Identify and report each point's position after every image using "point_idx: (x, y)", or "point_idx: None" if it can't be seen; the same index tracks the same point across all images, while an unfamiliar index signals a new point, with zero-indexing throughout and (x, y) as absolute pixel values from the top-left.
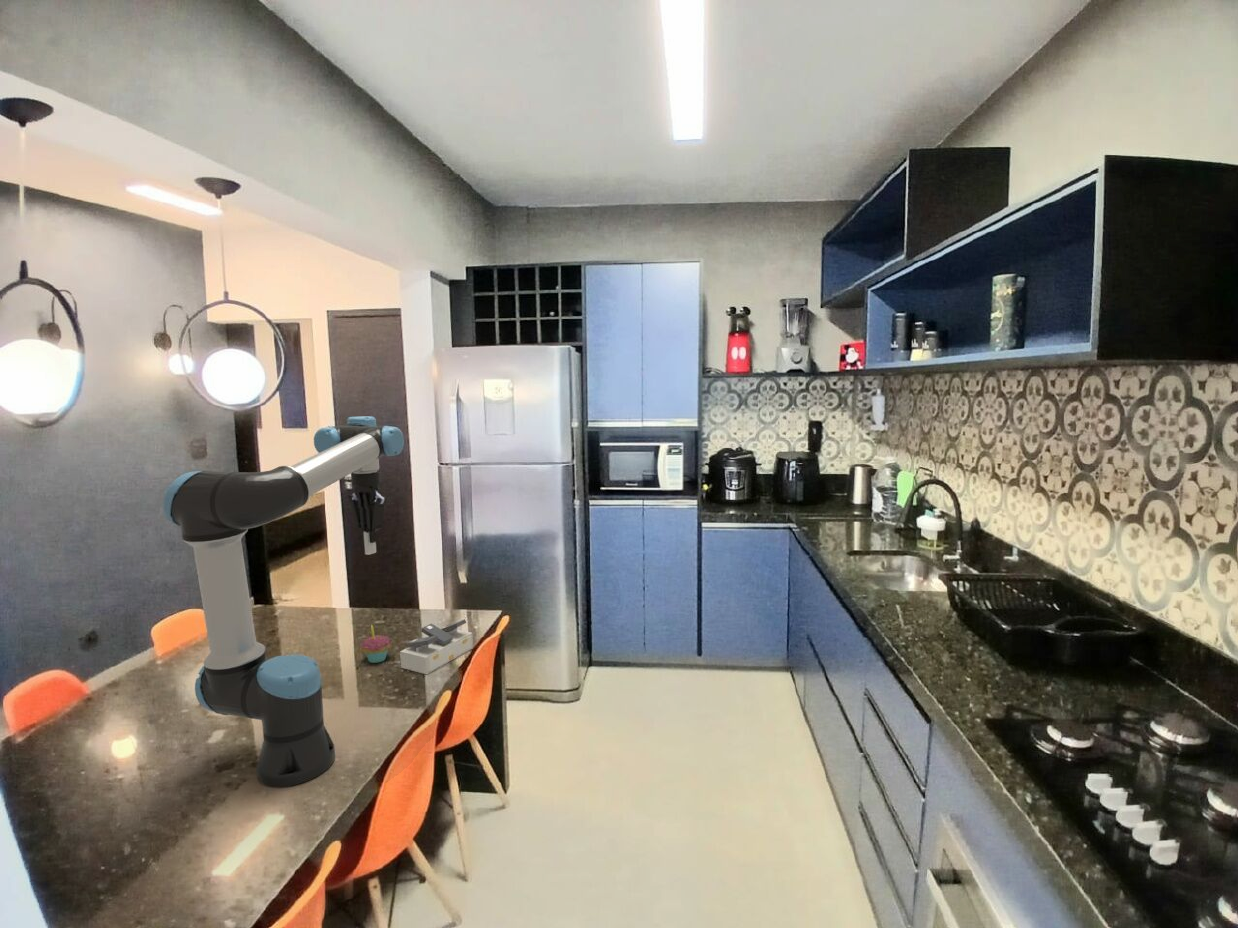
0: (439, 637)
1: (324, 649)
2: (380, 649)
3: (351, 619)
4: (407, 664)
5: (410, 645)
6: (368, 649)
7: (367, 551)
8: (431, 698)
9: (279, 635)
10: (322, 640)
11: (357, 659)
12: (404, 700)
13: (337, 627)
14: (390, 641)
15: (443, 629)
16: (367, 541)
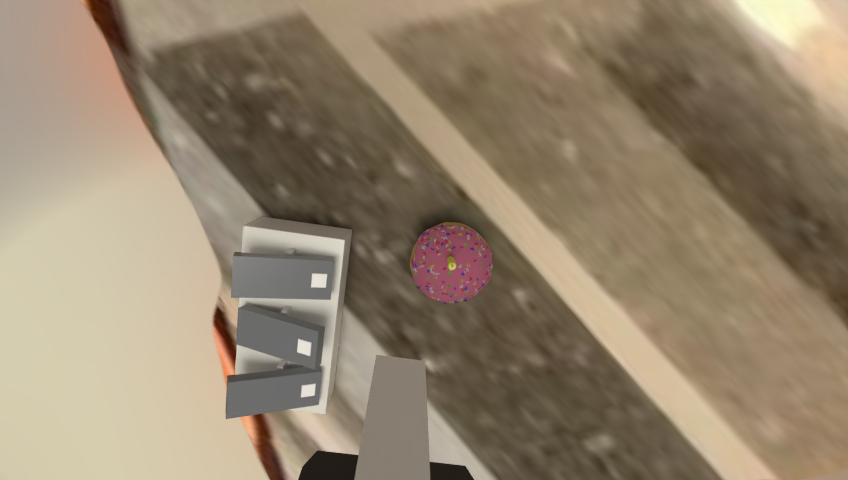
0: (257, 318)
1: (629, 260)
2: (417, 242)
3: (686, 434)
4: (325, 228)
5: (315, 258)
6: (445, 225)
7: (389, 373)
8: (158, 107)
9: (817, 297)
10: (674, 304)
11: (498, 236)
12: (215, 77)
13: (690, 383)
14: (419, 288)
15: (291, 373)
16: (368, 446)
